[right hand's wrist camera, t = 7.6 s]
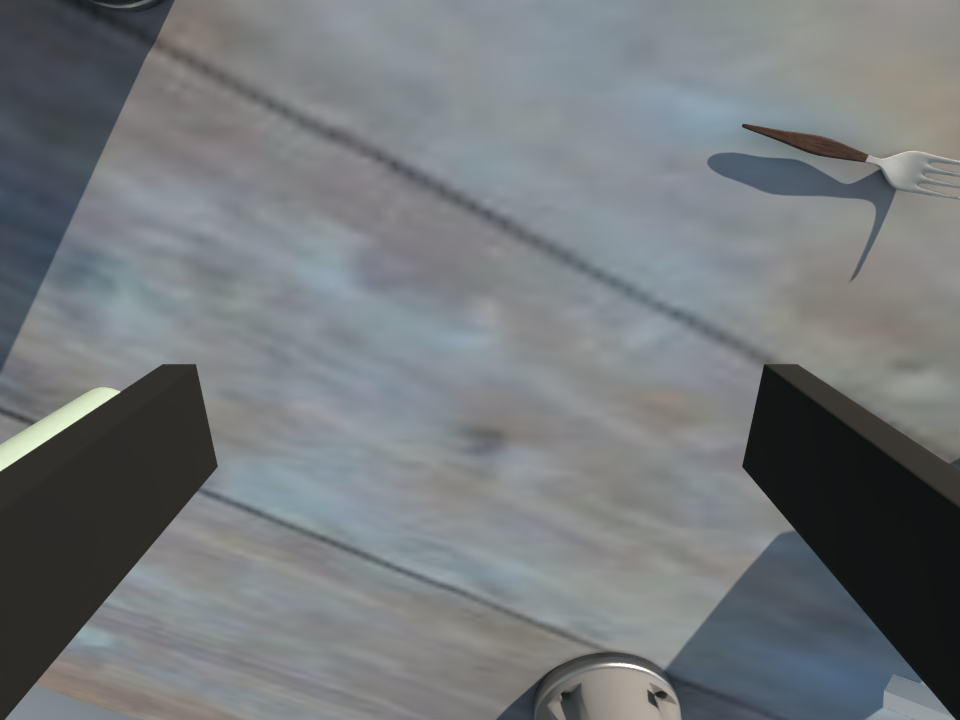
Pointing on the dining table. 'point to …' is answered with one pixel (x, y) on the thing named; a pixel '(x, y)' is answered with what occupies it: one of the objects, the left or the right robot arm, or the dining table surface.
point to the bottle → (52, 425)
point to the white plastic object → (913, 700)
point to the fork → (871, 160)
